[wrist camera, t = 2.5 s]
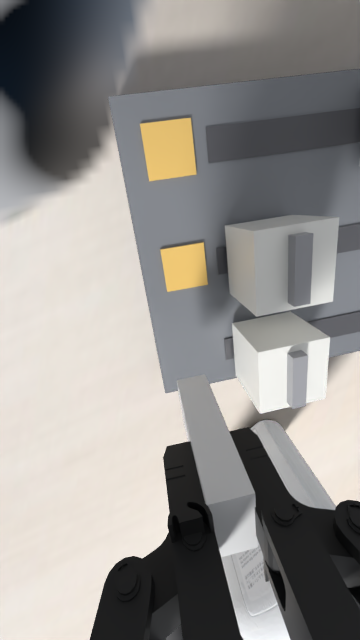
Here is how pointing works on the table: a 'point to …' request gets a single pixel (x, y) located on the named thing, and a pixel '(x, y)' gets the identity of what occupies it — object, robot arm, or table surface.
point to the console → (236, 201)
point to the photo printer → (248, 566)
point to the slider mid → (282, 262)
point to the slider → (281, 361)
